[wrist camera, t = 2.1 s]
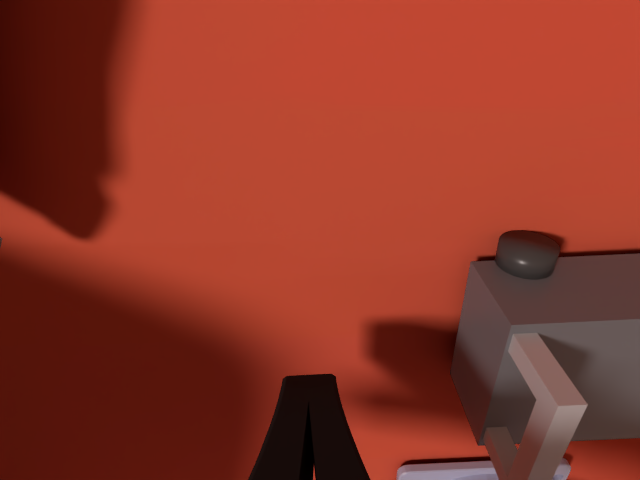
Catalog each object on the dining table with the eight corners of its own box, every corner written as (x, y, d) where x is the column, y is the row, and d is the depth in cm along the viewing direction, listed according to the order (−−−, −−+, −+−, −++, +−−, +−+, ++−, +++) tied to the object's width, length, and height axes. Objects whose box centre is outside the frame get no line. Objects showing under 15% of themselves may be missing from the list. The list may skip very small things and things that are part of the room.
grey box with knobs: (672, 363, 15) (829, 517, 11) (443, 374, 15) (501, 532, 11) (758, 218, 12) (1040, 349, 7) (467, 232, 12) (567, 372, 7)
